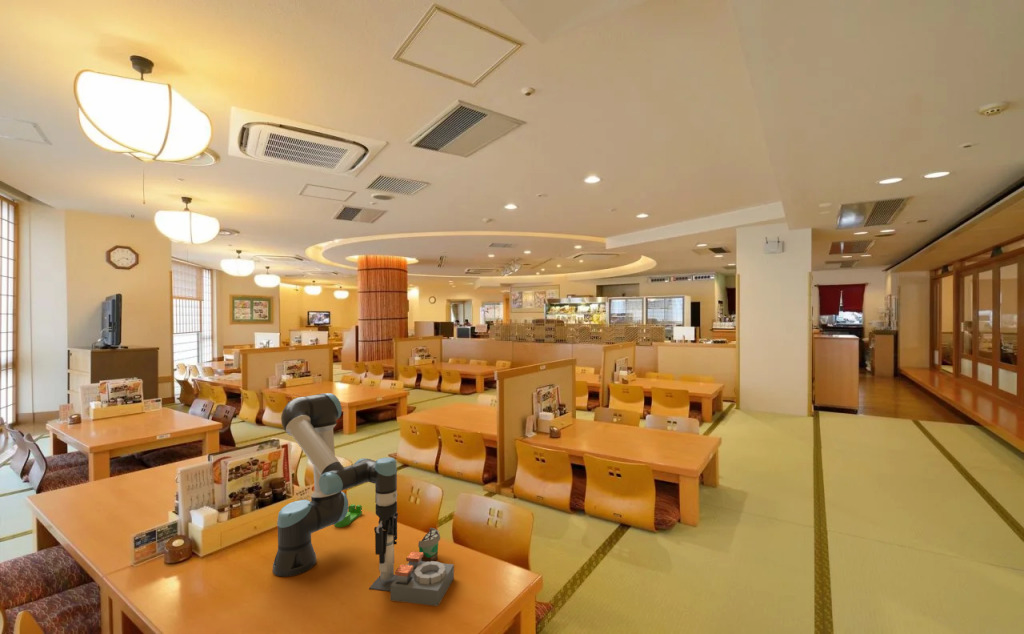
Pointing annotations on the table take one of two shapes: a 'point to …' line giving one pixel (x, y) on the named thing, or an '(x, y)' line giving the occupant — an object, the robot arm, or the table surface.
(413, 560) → the plunger
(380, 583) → the mat
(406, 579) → the plunger
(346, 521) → the tape dispenser
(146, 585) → the table surface
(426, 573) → the housing
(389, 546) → the cartridge
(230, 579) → the table surface
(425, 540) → the food container
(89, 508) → the table surface
